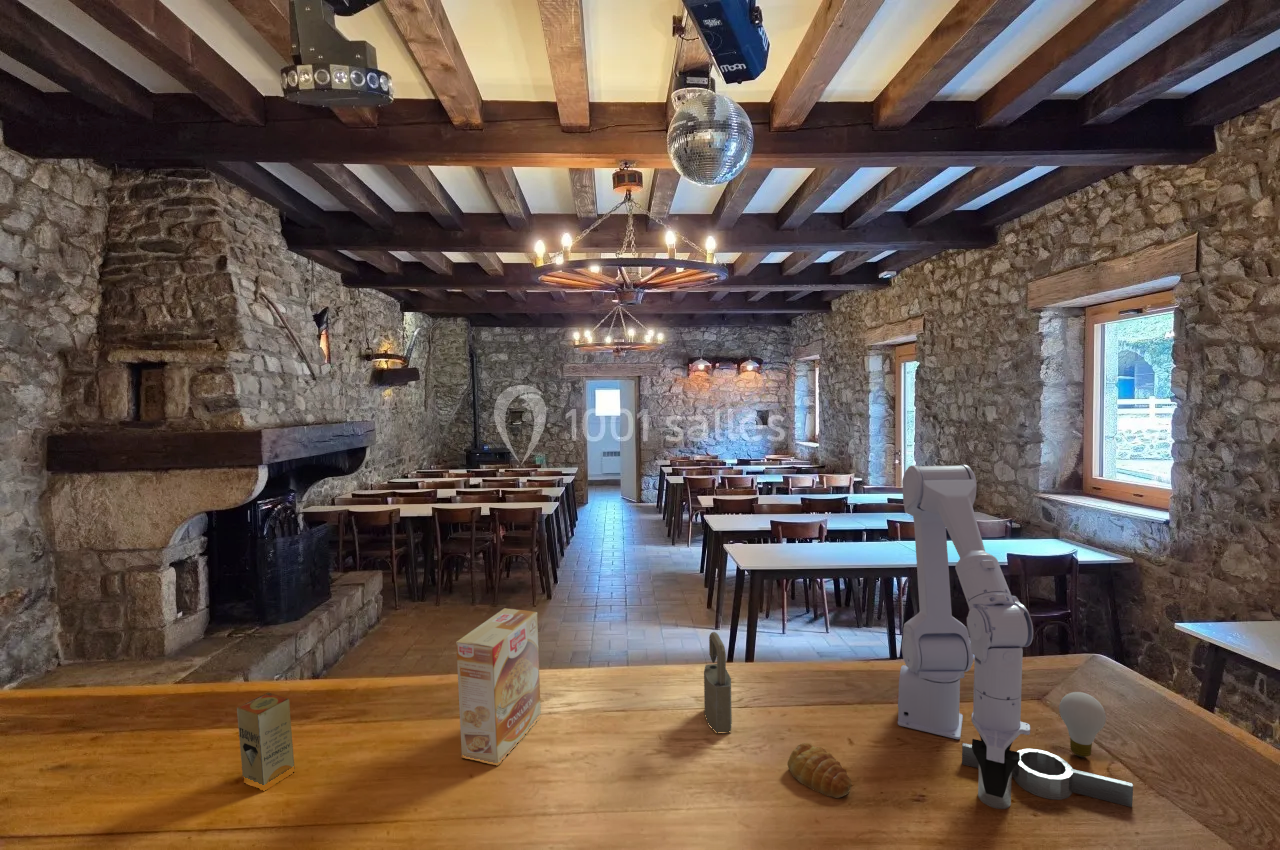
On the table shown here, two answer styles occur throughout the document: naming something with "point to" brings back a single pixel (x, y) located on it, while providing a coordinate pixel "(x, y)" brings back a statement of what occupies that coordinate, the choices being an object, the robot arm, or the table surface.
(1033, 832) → the table surface
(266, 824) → the table surface
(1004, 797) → the hinge pin
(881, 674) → the table surface
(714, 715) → the padlock
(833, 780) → the pastry
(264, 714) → the shoe polish box
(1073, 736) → the light bulb
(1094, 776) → the hinge
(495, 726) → the coffeecake box
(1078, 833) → the table surface
